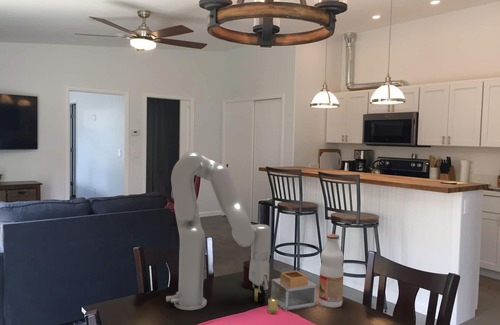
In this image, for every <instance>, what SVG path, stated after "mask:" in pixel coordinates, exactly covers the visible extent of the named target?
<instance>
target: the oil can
mask: <svg viewBox="0 0 500 325" xmlns="http://www.w3.org/2000/svg"><path fill="white" fill-rule="evenodd" d="M248 259H249V260H246V261H245V260H244V261H243V262H242V265H243V268H242V272H243V273H242V287H244V288H246V289H249V290H253V289H254V288H253V283H252V281H250V279H249V268H250V260H251V255H250V256H249V258H248ZM262 284H263V283H262ZM261 287H263V286H261Z"/></svg>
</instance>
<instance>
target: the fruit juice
mask: <svg viewBox="0 0 500 325" xmlns="http://www.w3.org/2000/svg"><path fill="white" fill-rule="evenodd" d="M326 240H327V242H326V245H325V247H324V249H323V250H322V251H321V253H320V260H321V264H320V268H319V281H318V282H319V283H318V284H319V289H318V302H319V304H320V305H321V306H323V307H326V308H332V309H333V308H340V307H341V306H342V305H343V297H344V295H343V294H344V267H343V263H344V259H345V258H344V257H345V256H344V252H342V250H341V248H340V243H339V240H340V235H339V234H336V233H328V234H326Z"/></svg>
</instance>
